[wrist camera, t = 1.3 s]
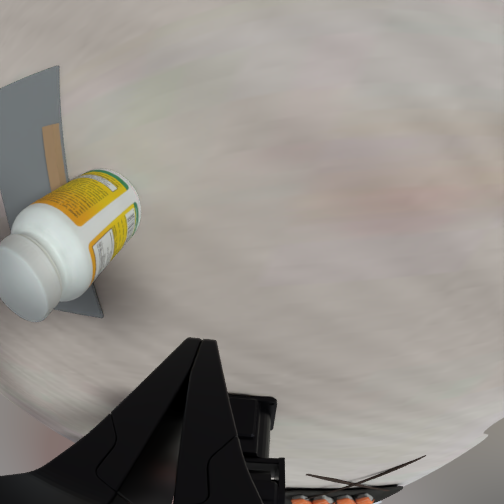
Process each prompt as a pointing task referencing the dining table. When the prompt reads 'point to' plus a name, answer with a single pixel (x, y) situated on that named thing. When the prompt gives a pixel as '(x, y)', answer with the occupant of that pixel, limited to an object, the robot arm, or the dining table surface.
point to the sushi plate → (344, 492)
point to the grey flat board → (35, 156)
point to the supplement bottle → (66, 242)
